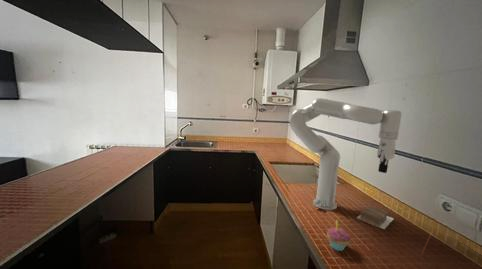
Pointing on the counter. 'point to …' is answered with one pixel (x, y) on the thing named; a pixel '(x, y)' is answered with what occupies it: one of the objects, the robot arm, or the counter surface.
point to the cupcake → (338, 238)
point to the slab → (373, 216)
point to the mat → (384, 222)
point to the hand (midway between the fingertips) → (382, 172)
